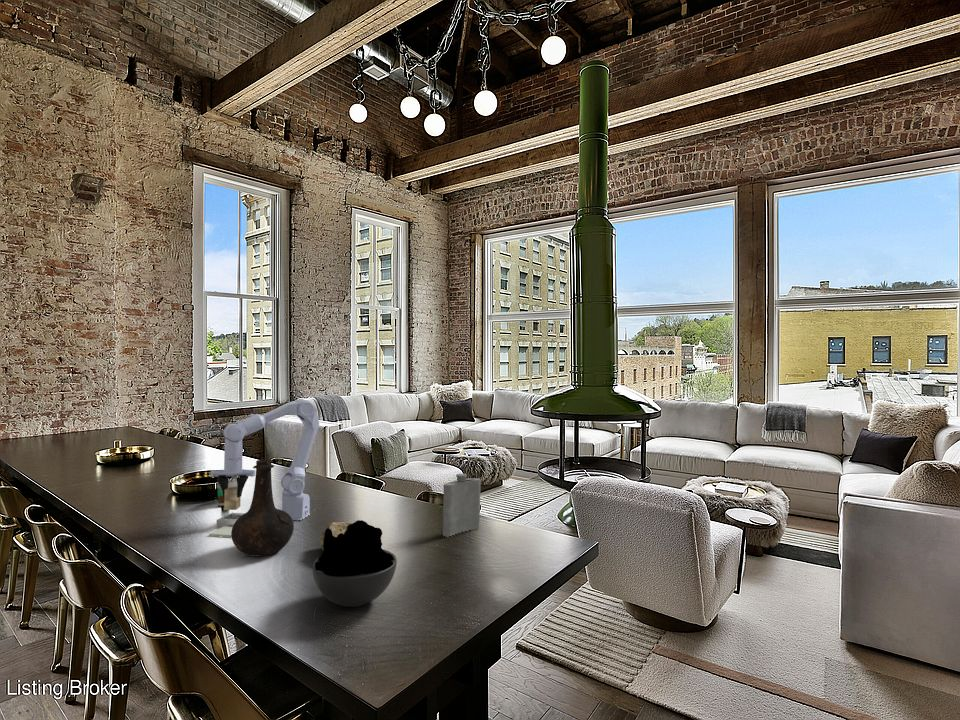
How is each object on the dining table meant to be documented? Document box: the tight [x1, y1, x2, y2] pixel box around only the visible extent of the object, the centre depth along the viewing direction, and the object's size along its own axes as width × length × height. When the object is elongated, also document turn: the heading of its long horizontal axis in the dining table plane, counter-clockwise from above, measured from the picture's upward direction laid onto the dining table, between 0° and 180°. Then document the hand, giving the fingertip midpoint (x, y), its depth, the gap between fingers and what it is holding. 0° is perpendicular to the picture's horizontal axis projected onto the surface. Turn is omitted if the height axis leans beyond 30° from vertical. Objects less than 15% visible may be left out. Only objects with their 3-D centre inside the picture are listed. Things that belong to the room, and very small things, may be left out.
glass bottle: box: [230, 458, 295, 557], centre depth 158 cm, size 18×18×28 cm
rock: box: [320, 521, 354, 551], centre depth 156 cm, size 21×14×10 cm
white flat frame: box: [215, 512, 246, 528], centre depth 183 cm, size 14×9×2 cm, turn 83°
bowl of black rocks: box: [311, 519, 398, 608], centre depth 125 cm, size 20×20×19 cm
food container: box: [216, 476, 239, 508], centre depth 208 cm, size 12×6×10 cm, turn 179°
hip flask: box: [442, 473, 481, 538], centre depth 179 cm, size 16×4×20 cm, turn 133°
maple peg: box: [223, 487, 242, 511], centre depth 180 cm, size 4×4×7 cm
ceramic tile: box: [208, 526, 233, 538], centre depth 173 cm, size 9×8×1 cm
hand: (232, 496), depth 180 cm, fingers closed on maple peg, 4 cm apart
